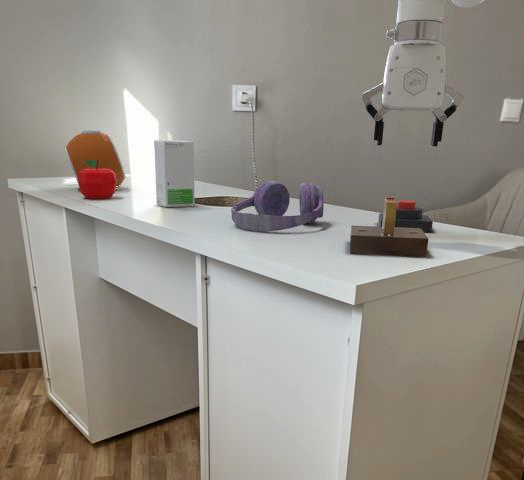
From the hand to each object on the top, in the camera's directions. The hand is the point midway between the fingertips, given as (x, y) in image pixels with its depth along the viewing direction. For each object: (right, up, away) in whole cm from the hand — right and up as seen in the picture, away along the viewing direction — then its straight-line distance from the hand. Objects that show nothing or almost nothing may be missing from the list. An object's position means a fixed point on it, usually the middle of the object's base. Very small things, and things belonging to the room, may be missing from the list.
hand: (406, 145), depth 99 cm
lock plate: (-5, -20, -6) cm, 21 cm away
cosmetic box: (-48, 0, +42) cm, 64 cm away
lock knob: (-5, -17, -7) cm, 19 cm away
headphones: (-23, -11, +16) cm, 30 cm away
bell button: (+3, -8, +14) cm, 17 cm away
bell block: (+3, -11, +15) cm, 20 cm away
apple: (-71, +5, +54) cm, 90 cm away
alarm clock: (-78, +14, +76) cm, 110 cm away
